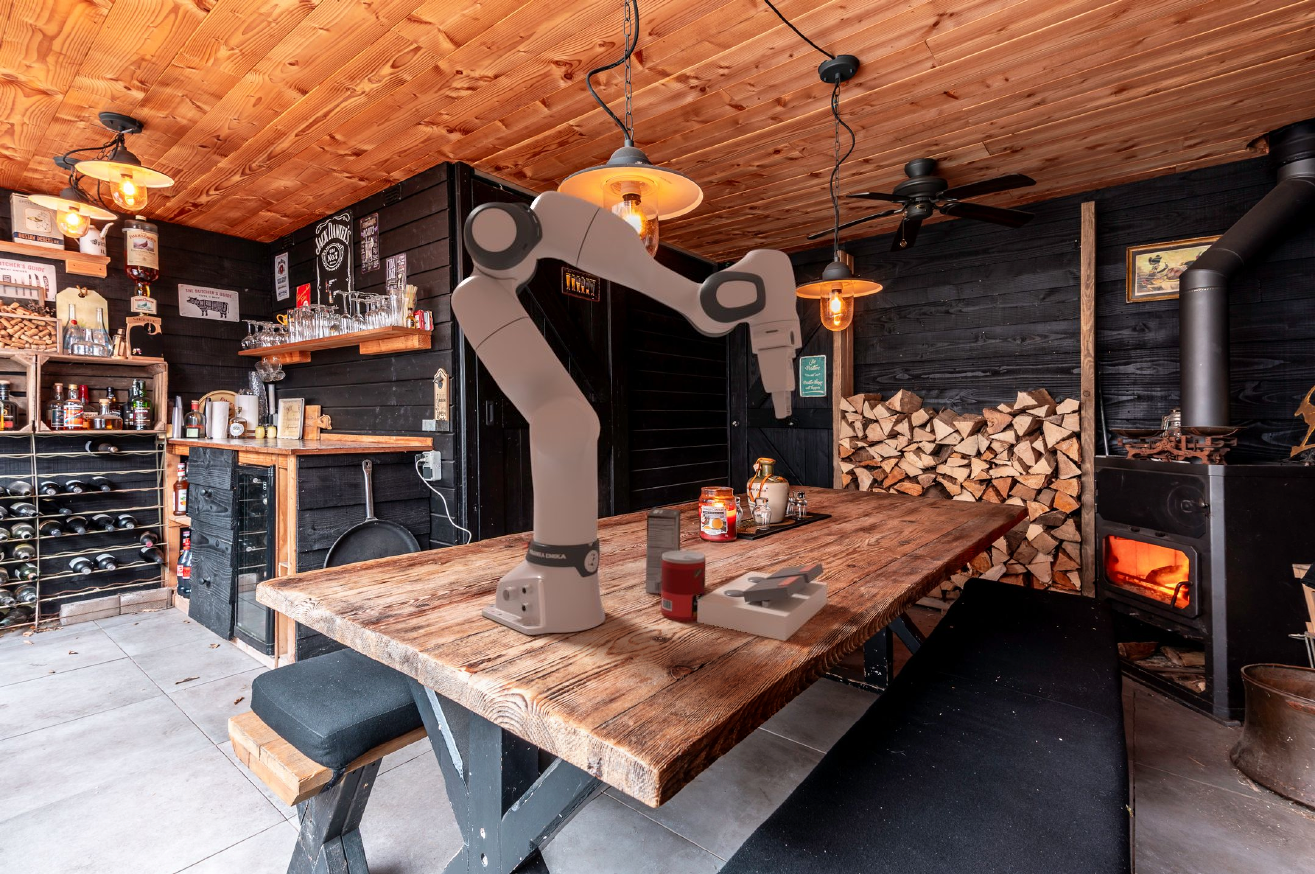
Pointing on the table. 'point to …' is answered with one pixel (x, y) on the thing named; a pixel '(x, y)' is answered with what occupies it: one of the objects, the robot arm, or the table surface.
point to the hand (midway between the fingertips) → (784, 416)
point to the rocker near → (774, 589)
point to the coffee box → (660, 543)
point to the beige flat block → (761, 608)
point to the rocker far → (799, 572)
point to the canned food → (682, 584)
